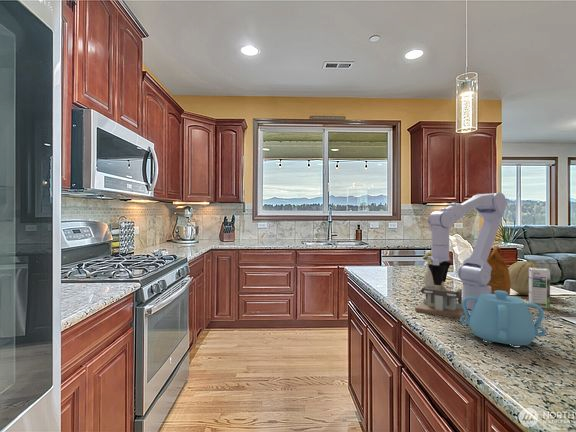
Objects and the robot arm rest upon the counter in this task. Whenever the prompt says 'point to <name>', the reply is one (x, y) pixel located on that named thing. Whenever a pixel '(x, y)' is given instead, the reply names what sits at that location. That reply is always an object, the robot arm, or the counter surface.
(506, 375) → the counter surface
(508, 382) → the counter surface
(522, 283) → the cantaloupe
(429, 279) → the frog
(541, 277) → the syrup box
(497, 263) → the coffee package
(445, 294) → the bracket with white balls
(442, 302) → the tan board with cubes
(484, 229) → the robot arm
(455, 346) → the counter surface
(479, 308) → the decorative pot
